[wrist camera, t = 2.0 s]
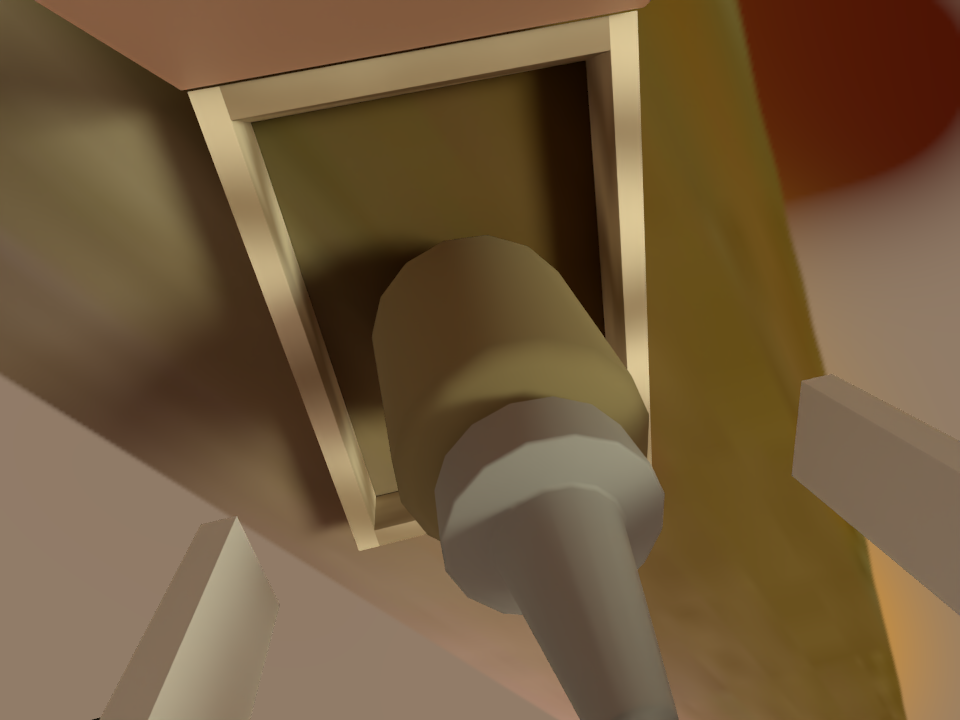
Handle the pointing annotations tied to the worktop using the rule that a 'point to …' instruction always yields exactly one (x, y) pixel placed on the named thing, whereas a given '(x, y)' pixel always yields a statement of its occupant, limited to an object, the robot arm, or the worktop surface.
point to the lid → (298, 30)
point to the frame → (239, 104)
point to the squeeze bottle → (527, 461)
